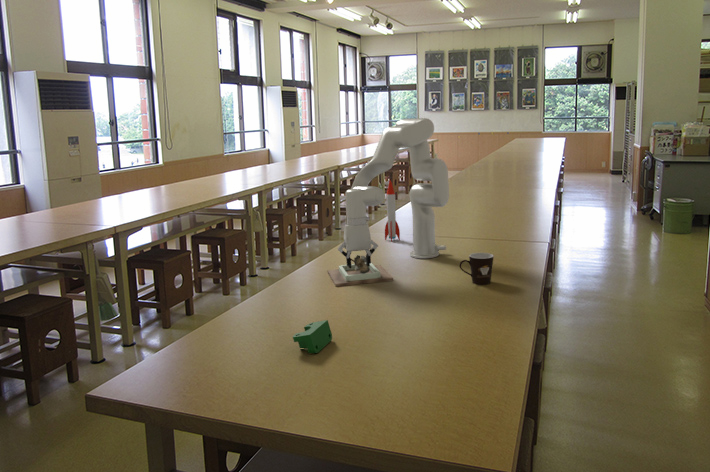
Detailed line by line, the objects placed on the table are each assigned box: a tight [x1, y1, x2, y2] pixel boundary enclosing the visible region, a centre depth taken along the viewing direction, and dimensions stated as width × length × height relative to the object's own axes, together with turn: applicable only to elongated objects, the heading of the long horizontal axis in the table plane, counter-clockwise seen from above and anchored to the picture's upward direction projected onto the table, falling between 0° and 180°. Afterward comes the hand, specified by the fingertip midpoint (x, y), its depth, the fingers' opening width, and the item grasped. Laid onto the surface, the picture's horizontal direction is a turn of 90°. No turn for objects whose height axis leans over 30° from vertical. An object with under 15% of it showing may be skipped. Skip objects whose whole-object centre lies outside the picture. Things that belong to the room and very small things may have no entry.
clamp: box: [292, 319, 333, 354], centre depth 153 cm, size 12×6×9 cm, turn 152°
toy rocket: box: [384, 179, 401, 243], centre depth 276 cm, size 6×6×30 cm
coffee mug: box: [459, 252, 494, 286], centre depth 203 cm, size 12×9×10 cm
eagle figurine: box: [351, 254, 370, 274], centre depth 215 cm, size 8×7×9 cm
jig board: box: [327, 262, 394, 287], centre depth 218 cm, size 22×20×3 cm
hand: (358, 266), depth 218 cm, fingers closed on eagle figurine, 6 cm apart
